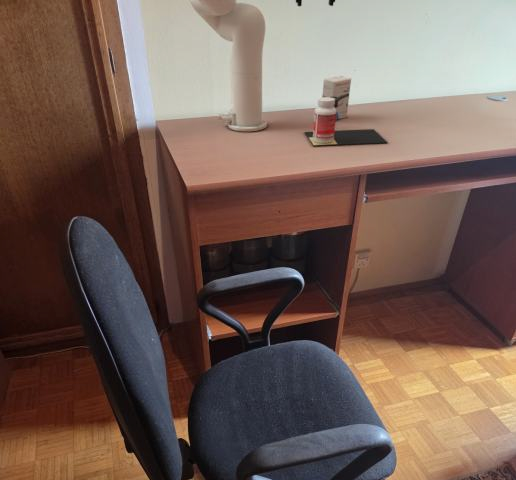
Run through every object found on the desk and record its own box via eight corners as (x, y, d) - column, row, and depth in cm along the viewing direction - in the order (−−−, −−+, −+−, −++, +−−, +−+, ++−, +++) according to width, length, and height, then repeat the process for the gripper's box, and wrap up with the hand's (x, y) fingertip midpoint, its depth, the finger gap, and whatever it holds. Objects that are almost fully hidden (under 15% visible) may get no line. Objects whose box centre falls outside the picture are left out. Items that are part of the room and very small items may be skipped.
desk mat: (313, 146, 130) (313, 144, 129) (304, 133, 139) (304, 131, 139) (387, 143, 131) (387, 141, 131) (373, 130, 141) (373, 128, 141)
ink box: (330, 121, 149) (334, 81, 141) (319, 118, 151) (322, 78, 144) (347, 117, 153) (352, 77, 145) (336, 114, 156) (340, 75, 148)
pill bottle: (337, 141, 131) (342, 99, 124) (321, 145, 129) (325, 102, 122) (324, 136, 135) (327, 95, 128) (308, 139, 133) (311, 98, 126)
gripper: (347, -72, 127) (340, 4, 138) (286, -72, 125) (284, 5, 136) (354, -73, 121) (346, 6, 132) (291, -73, 120) (288, 7, 131)
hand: (315, 5), depth 134 cm, fingers open, 9 cm apart
